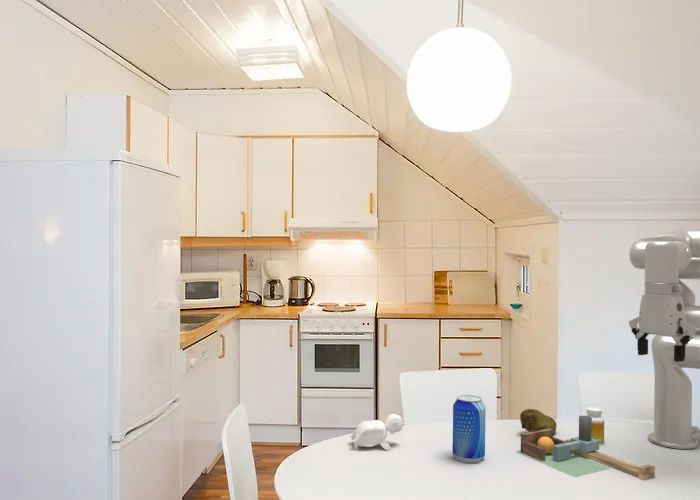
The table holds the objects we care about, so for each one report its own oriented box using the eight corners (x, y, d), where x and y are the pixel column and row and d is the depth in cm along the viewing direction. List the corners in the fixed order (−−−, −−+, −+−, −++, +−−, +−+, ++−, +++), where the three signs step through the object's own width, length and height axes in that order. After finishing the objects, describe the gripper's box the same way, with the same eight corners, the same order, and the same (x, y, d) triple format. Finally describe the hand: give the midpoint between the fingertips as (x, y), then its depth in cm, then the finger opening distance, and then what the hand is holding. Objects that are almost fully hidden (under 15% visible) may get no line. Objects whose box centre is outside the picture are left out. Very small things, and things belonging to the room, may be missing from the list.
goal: (549, 446, 163) (549, 428, 163) (571, 454, 156) (571, 436, 156) (520, 452, 158) (520, 433, 158) (541, 461, 151) (542, 441, 151)
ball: (550, 432, 159) (560, 445, 155) (542, 442, 161) (552, 455, 158) (538, 434, 156) (548, 448, 153) (531, 444, 159) (540, 458, 156)
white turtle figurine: (361, 463, 157) (411, 440, 159) (350, 434, 157) (401, 412, 159) (356, 452, 166) (404, 431, 168) (346, 424, 165) (394, 404, 167)
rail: (576, 448, 162) (576, 437, 162) (654, 477, 141) (654, 465, 141) (565, 450, 160) (565, 440, 160) (643, 481, 139) (643, 468, 139)
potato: (566, 438, 171) (567, 411, 171) (527, 440, 168) (527, 413, 168) (551, 429, 179) (551, 403, 179) (513, 432, 176) (513, 405, 176)
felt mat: (549, 445, 164) (549, 444, 164) (610, 469, 147) (610, 468, 147) (515, 452, 158) (515, 451, 158) (574, 477, 141) (574, 477, 141)
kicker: (583, 449, 160) (584, 413, 160) (599, 455, 156) (599, 418, 156) (547, 457, 154) (548, 420, 154) (562, 463, 149) (563, 425, 149)
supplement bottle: (606, 446, 164) (606, 412, 164) (585, 445, 165) (586, 410, 165) (601, 440, 169) (602, 407, 169) (582, 439, 170) (582, 406, 170)
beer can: (490, 458, 153) (491, 397, 153) (474, 466, 147) (474, 403, 147) (463, 450, 159) (464, 392, 159) (446, 458, 153) (446, 397, 153)
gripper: (704, 292, 141) (703, 362, 141) (639, 287, 156) (638, 351, 156) (685, 292, 137) (685, 365, 137) (621, 288, 152) (620, 353, 152)
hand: (660, 357), depth 146 cm, fingers open, 9 cm apart
